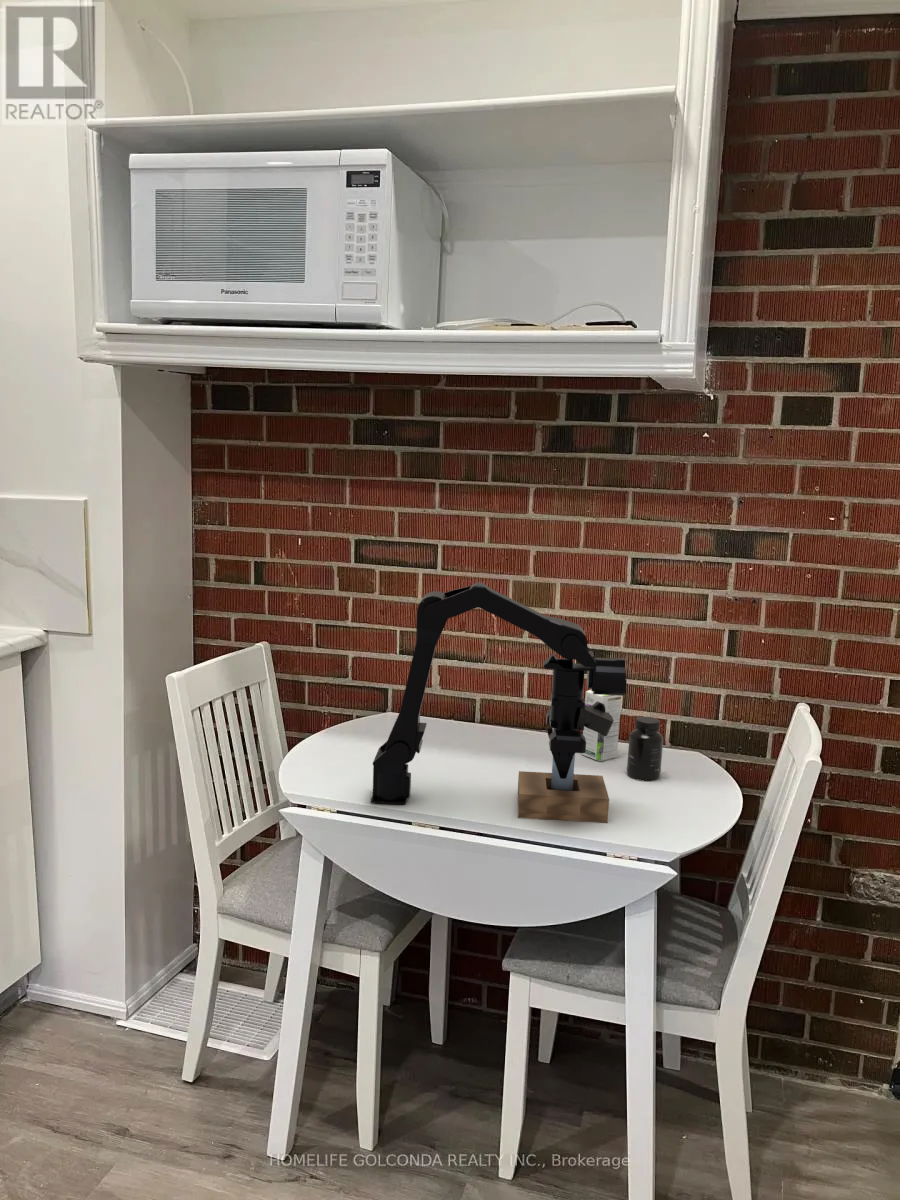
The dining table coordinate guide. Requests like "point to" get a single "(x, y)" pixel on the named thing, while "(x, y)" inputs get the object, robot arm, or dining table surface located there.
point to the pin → (562, 783)
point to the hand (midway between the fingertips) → (562, 774)
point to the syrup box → (596, 743)
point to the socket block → (562, 798)
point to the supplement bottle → (645, 750)
